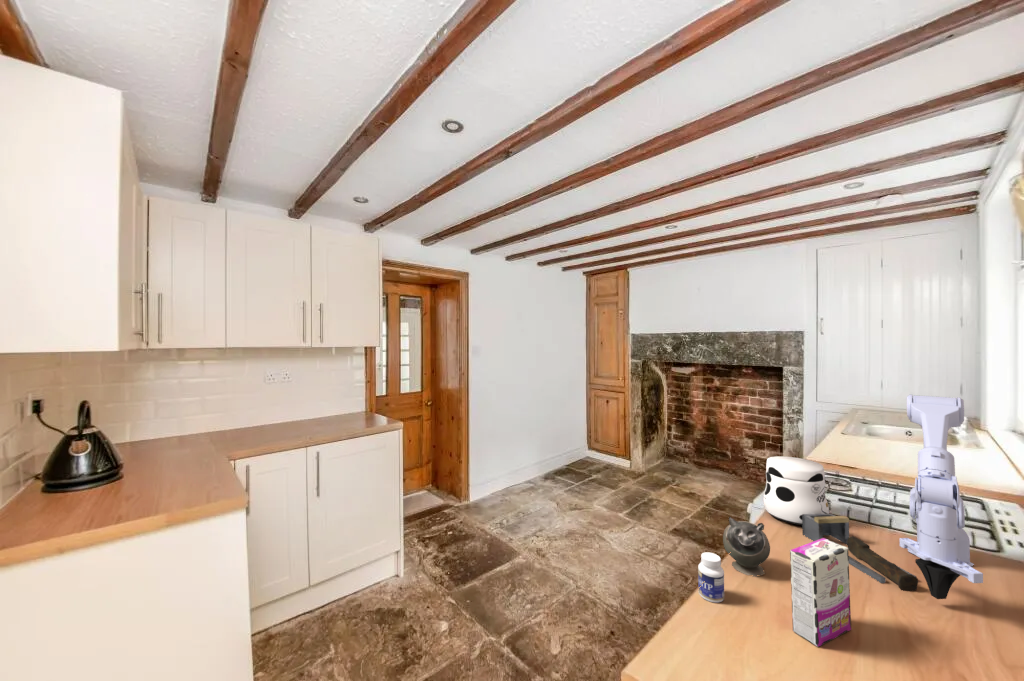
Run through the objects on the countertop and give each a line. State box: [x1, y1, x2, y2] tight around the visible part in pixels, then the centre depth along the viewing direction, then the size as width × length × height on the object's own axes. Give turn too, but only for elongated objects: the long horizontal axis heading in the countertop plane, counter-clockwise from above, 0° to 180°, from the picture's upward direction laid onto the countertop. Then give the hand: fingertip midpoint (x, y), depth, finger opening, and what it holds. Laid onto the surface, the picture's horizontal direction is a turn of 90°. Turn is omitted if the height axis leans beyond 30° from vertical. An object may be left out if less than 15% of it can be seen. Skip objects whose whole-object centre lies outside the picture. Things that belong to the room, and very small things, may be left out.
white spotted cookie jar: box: [762, 455, 830, 526], centre depth 129 cm, size 17×17×18 cm
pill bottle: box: [697, 551, 725, 603], centre depth 91 cm, size 5×5×9 cm
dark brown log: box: [846, 535, 919, 592], centre depth 101 cm, size 19×4×5 cm, turn 172°
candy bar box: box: [789, 537, 852, 648], centre depth 79 cm, size 11×5×16 cm, turn 114°
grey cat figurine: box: [722, 516, 771, 577], centre depth 101 cm, size 10×12×10 cm
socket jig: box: [801, 512, 918, 584], centre depth 107 cm, size 9×24×7 cm, turn 3°
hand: (938, 597), depth 86 cm, fingers closed
